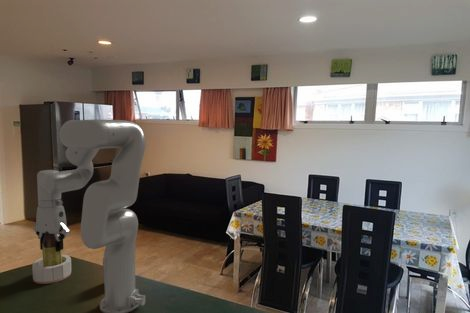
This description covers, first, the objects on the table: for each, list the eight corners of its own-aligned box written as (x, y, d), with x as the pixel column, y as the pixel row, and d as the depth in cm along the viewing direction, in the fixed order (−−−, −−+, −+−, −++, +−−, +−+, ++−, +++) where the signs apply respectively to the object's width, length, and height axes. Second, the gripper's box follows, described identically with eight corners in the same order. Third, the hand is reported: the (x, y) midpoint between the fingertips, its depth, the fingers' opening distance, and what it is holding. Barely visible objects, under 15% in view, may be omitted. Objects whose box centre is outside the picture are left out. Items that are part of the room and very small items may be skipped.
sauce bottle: (51, 266, 127) (49, 217, 125) (66, 267, 126) (64, 218, 124) (39, 273, 120) (36, 222, 118) (54, 275, 119) (52, 223, 117)
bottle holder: (78, 270, 128) (78, 256, 127) (53, 286, 116) (52, 270, 115) (51, 266, 131) (51, 252, 131) (24, 281, 119) (23, 266, 118)
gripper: (76, 202, 122) (78, 248, 124) (39, 199, 126) (41, 243, 128) (61, 207, 115) (63, 255, 117) (22, 203, 119) (24, 250, 121)
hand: (51, 248), depth 122 cm, fingers closed on sauce bottle, 6 cm apart
